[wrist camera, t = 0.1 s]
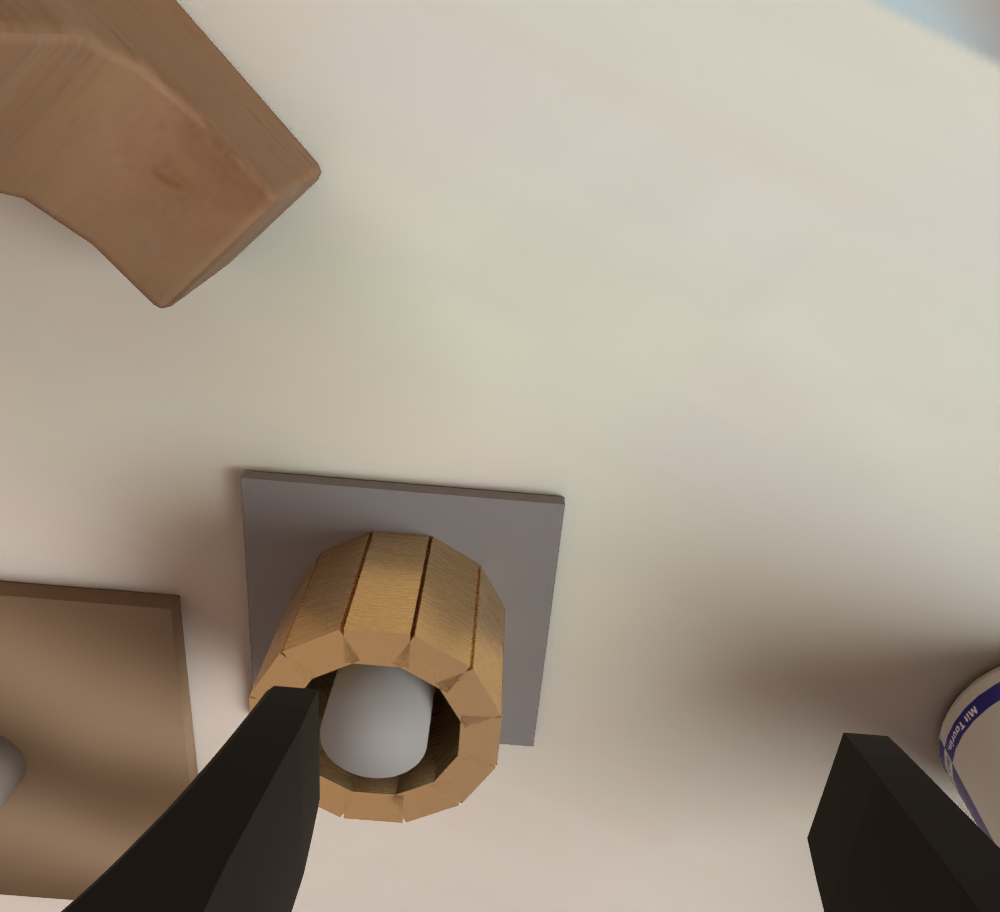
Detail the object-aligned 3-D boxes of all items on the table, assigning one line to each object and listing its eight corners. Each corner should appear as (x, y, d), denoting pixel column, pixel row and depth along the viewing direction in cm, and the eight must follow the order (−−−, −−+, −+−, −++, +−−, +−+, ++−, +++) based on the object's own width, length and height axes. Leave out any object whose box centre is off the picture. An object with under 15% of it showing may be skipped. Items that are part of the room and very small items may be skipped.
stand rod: (533, 735, 25) (535, 874, 21) (259, 714, 25) (206, 849, 20) (564, 496, 21) (574, 605, 17) (245, 470, 21) (177, 573, 17)
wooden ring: (495, 711, 24) (489, 829, 20) (296, 695, 24) (255, 811, 20) (512, 542, 21) (509, 642, 18) (290, 523, 21) (243, 621, 18)
